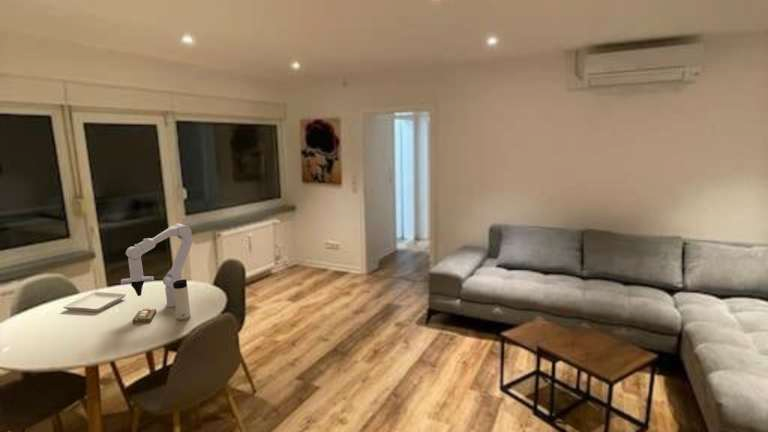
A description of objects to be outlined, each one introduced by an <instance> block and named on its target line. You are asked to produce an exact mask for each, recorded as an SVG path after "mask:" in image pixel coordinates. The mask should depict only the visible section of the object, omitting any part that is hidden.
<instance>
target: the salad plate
mask: <svg viewBox="0 0 768 432" xmlns="http://www.w3.org/2000/svg"><path fill="white" fill-rule="evenodd" d="M126 296H127V294H126V293H117V292H102V291H101V292H100V291H99V292H98V291H94V292H91V293H90V294H88V295H86V296H85V295H84V296H83V297H81V298H78V299H76V300H74V301H72V302H70V303H68V304H66V305H64V306H63V307H62V308H64V309H65V310H70V311H80V312H81V311H82V312H83V311H84V312H99V311H101V310H104V309H105V308H107V307H109V306H112V305H114V304H116V303H117V302H119V301H121V300H123V299H124V298H125V297H126Z"/></svg>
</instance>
